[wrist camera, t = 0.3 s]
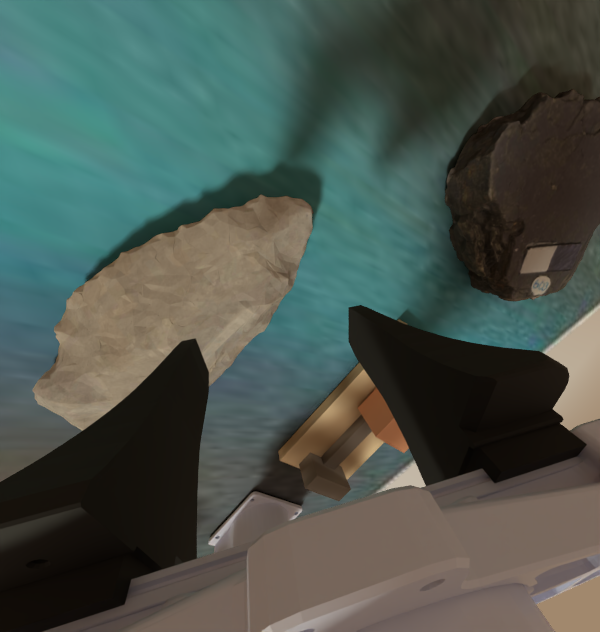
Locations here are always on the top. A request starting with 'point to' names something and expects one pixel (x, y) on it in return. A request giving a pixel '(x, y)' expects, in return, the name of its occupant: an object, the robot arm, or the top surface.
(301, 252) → the stone tool
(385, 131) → the top surface
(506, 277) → the rock sample
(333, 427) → the rail board
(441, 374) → the robot arm
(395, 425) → the slider block
